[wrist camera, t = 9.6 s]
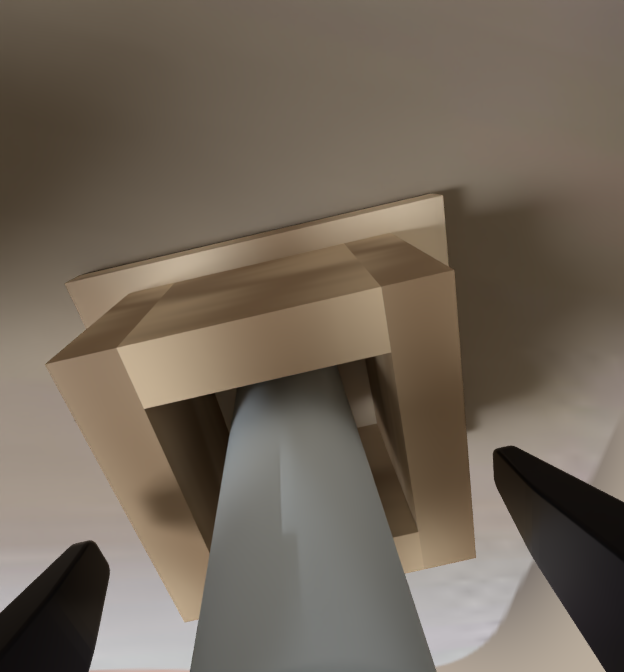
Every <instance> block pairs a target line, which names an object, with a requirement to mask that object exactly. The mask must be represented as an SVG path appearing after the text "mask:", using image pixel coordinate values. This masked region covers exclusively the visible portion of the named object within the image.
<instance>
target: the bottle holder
mask: <svg viewBox="0 0 624 672" xmlns="http://www.w3.org/2000/svg"><path fill="white" fill-rule="evenodd" d="M65 285H66V288H67V290H68V292H69V294H70V296H71V298H72V300H73V302H74V304H75V306H76V309H77V311H78V313H79V315H80V317H81V319H82V321H83V323H84V325H85V327H86V330H85V331H84V332H83V333H81V334H80V335H79V336H78V337H77V338H76V339H74V340H73V341H72V342H71V343H70V344H68V345H67V346H66V347H65V348H64V349H63V350H61V351H60V352H59V353H58V354H57V355H55V356H54V357H53V358H52V359H51V360H50V361H48V362H47V363H46V364H45V366H46V368H47V369H48V371H49V373H50V375H51V377H52V379H53V380H54V382H55V384H56V386H57V388H58V390H59V392H60V393H61V395H62V397H63V399H64V401H65V403H66V404H67V406H68V408H69V410H70V412H71V414H72V415H73V417H74V419H75V421H76V423H77V425H78V427H79V428H80V430H81V432H82V434H83V436H84V438H85V439H86V441H87V443H88V445H89V447H90V449H91V451H92V452H93V454H94V456H95V458H96V460H97V462H98V463H99V465H100V467H101V469H102V471H103V473H104V474H105V476H106V478H107V480H108V482H109V484H110V486H111V487H112V489H113V491H114V493H115V495H116V497H117V498H118V500H119V502H120V504H121V506H122V508H123V509H124V511H125V513H126V515H127V517H128V519H129V521H130V522H131V524H132V526H133V528H134V530H135V532H136V533H137V535H138V537H139V539H140V541H141V543H142V545H143V546H144V548H145V550H146V552H147V554H148V556H149V557H150V559H151V561H152V563H153V565H154V567H155V568H156V570H157V572H158V574H159V576H160V578H161V580H162V581H163V583H164V585H165V587H166V589H167V591H168V592H169V594H170V596H171V598H172V600H173V602H174V603H175V605H176V607H177V609H178V611H179V613H180V615H181V616H182V618H183V620H184V622H189V621H193V620H198V619H199V615H200V609H201V603H202V597H203V591H204V585H205V579H206V573H207V567H208V561H209V555H210V549H211V543H212V537H213V531H214V525H215V519H216V513H217V507H218V501H219V495H220V489H221V483H222V477H223V471H224V465H225V459H226V453H227V447H228V441H229V435H230V429H231V423H232V417H233V411H234V405H235V399H236V393H237V388H238V387H242V386H247V385H251V384H255V383H260V382H264V381H268V380H273V379H277V378H281V377H286V376H290V375H295V374H299V373H303V372H308V371H312V370H316V369H321V368H325V367H330V366H334V365H337V368H338V371H339V374H340V377H341V380H342V383H343V386H344V390H345V393H346V396H347V399H348V402H349V405H350V408H351V411H352V414H353V417H354V420H355V423H356V426H357V429H358V432H359V436H360V439H361V442H362V445H363V448H364V451H365V454H366V457H367V460H368V463H369V466H370V469H371V472H372V475H373V478H374V482H375V485H376V488H377V491H378V494H379V497H380V500H381V503H382V506H383V509H384V512H385V515H386V518H387V521H388V524H389V528H390V531H391V534H392V537H393V540H394V543H395V546H396V549H397V552H398V555H399V558H400V561H401V564H402V567H403V570H404V574H405V573H410V572H414V571H419V570H423V569H428V568H432V567H437V566H441V565H446V564H450V563H455V562H459V561H464V560H468V559H473V558H476V551H475V538H474V525H473V511H472V498H471V485H470V472H469V458H468V445H467V432H466V419H465V405H464V392H463V379H462V365H461V352H460V339H459V326H458V312H457V299H456V286H455V273H454V269H452V268H450V267H449V264H448V252H447V239H446V227H445V214H444V202H443V195H438V194H432V193H431V194H427V195H422V196H418V197H414V198H409V199H405V200H401V201H397V202H392V203H388V204H384V205H380V206H375V207H371V208H367V209H362V210H358V211H354V212H350V213H345V214H341V215H337V216H332V217H328V218H324V219H320V220H315V221H311V222H307V223H302V224H298V225H294V226H290V227H285V228H281V229H277V230H272V231H268V232H264V233H260V234H255V235H251V236H247V237H242V238H238V239H234V240H230V241H225V242H221V243H217V244H212V245H208V246H204V247H200V248H195V249H191V250H187V251H182V252H178V253H174V254H170V255H165V256H161V257H157V258H153V259H148V260H144V261H140V262H135V263H131V264H127V265H123V266H118V267H114V268H110V269H105V270H101V271H97V272H93V273H88V274H84V275H80V276H78V277H76V278H74V279H72V280H70V281H68V282H67V283H65Z"/></svg>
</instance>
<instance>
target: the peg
mask: <svg viewBox="0 0 624 672" xmlns="http://www.w3.org/2000/svg"><path fill="white" fill-rule="evenodd" d="M190 672H436V669H435V666H434V663H433V659H432V656H431V653H430V650H429V647H428V644H427V641H426V638H425V635H424V632H423V629H422V626H421V623H420V620H419V616H418V613H417V610H416V607H415V604H414V601H413V598H412V595H411V592H410V589H409V586H408V583H407V580H406V577H405V574H404V570H403V567H402V564H401V561H400V558H399V555H398V552H397V549H396V546H395V543H394V540H393V537H392V534H391V531H390V528H389V524H388V521H387V518H386V515H385V512H384V509H383V506H382V503H381V500H380V497H379V494H378V491H377V488H376V485H375V482H374V478H373V475H372V472H371V469H370V466H369V463H368V460H367V457H366V454H365V451H364V448H363V445H362V442H361V439H360V436H359V432H358V429H357V426H356V423H355V420H354V417H353V414H352V411H351V408H350V405H349V402H348V399H347V396H346V393H345V390H344V386H343V383H342V380H341V377H340V374H339V371H338V368H337V365H334V366H330V367H325V368H321V369H316V370H312V371H308V372H303V373H299V374H295V375H290V376H286V377H281V378H277V379H273V380H268V381H264V382H260V383H255V384H251V385H247V386H242V387H238V388H237V393H236V399H235V405H234V411H233V417H232V423H231V429H230V435H229V441H228V447H227V453H226V459H225V465H224V471H223V477H222V483H221V489H220V495H219V501H218V507H217V513H216V519H215V525H214V531H213V537H212V543H211V549H210V555H209V561H208V567H207V573H206V579H205V585H204V591H203V597H202V603H201V609H200V615H199V621H198V627H197V633H196V639H195V645H194V651H193V657H192V663H191V669H190Z"/></svg>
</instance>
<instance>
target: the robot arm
mask: <svg viewBox="0 0 624 672" xmlns="http://www.w3.org/2000/svg"><path fill="white" fill-rule="evenodd" d="M493 469H494V481H495V484H496V487H497V489H498V491H499V493H500V495H501V497H502V499H503V501H504V503H505V505H506V507H507V509H508V511H509V513H510V515H511V517H512V519H513V521H514V523H515V525H516V527H517V528H518V530H519V532H520V534H521V536H522V538H523V540H524V542H525V544H526V546H527V548H528V550H529V552H530V553H531V555H532V557H533V559H534V560H535V562H536V564H537V565H538V567H539V568H540V570H541V571H542V573H543V575H544V576H545V578H546V579H547V581H548V582H549V584H550V585H551V587H552V589H553V590H554V592H555V593H556V595H557V596H558V598H559V599H560V601H561V602H562V604H563V606H564V607H565V609H566V610H567V612H568V613H569V615H570V617H571V618H572V620H573V621H574V623H575V624H576V626H577V627H578V629H579V631H580V632H581V634H582V635H583V637H584V638H585V640H586V641H587V643H588V644H589V646H590V647H591V649H592V651H593V652H594V654H595V655H596V657H597V658H598V660H599V662H600V663H601V665H602V666H603V668H604V669H605V671H606V672H624V502H622V501H621V500H619V499H616V498H615V497H613V496H611V495H608V494H607V493H605V492H603V491H601V490H599V489H597V488H595V487H593V486H591V485H589V484H587V483H585V482H584V481H582V480H580V479H578V478H576V477H574V476H572V475H570V474H568V473H566V472H564V471H562V470H560V469H558V468H556V467H554V466H552V465H550V464H548V463H546V462H545V461H543V460H541V459H539V458H537V457H535V456H533V455H531V454H529V453H527V452H525V451H523V450H521V449H519V448H517V447H515V446H506V447H501V448H497V449H495V450H494V452H493ZM109 576H110V569H109V564H108V562H107V561H106V559H105V557H104V556H103V554H102V552H101V551H100V549H99V547H98V546H97V544H96V543H95V542H94V541H90V540H89V541H84V542H80V543H76V544H73V545H72V546H70V547H69V548H68V549H67V550H66V551H65V552H64V553H63V554H62V555H61V556H60V557H59V558H57V559H56V560H55V561H54V562H53V563H52V564H51V565H50V566H49V567H48V568H47V569H46V570H45V571H44V572H43V573H42V574H41V575H40V576H39V577H38V578H36V579H35V580H34V581H33V582H32V583H31V584H30V585H29V586H28V587H27V588H26V589H25V590H24V591H23V592H22V593H21V594H20V595H19V596H18V597H16V598H15V599H14V600H13V601H12V602H11V603H10V604H9V605H8V606H7V607H6V608H5V609H4V610H3V611H2V612H1V613H0V672H89V668H90V665H91V661H92V657H93V654H94V650H95V645H96V641H97V636H98V631H99V626H100V621H101V616H102V611H103V606H104V601H105V596H106V591H107V586H108V581H109Z"/></svg>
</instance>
